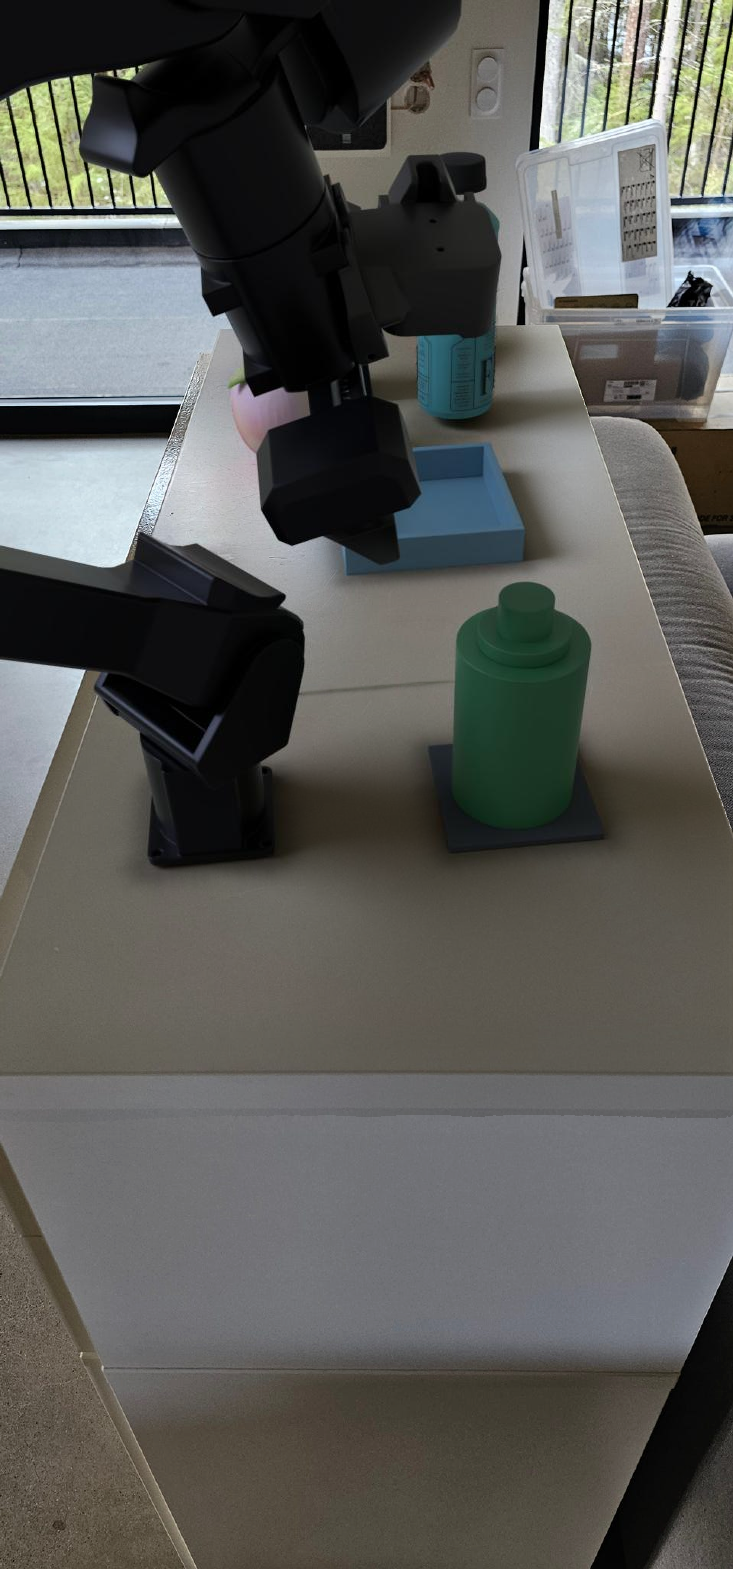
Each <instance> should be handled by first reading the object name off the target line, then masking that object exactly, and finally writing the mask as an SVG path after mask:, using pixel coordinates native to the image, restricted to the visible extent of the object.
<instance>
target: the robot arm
mask: <svg viewBox="0 0 733 1569" xmlns="http://www.w3.org/2000/svg"><path fill="white" fill-rule="evenodd" d="M462 6H463V0H0V102H2V101H4V100H6V99H7V98H10V97H11V96H13V95H15V94H17V93H19V92H20V91H23V90H24V89H25V90H26V89H27V88H31V87H35V86H37V85H38V86H39V85H41V84H46V83H48V82H52V81H56V80H60V79H66V78H67V79H68V78H74V77H79V76H80V77H81V76H87V75H94V76H93V77H92V80H91V92H92V93H91V103H90V107H89V110H88V114H87V116H86V117H85V120H84V122H83V126H82V131H81V135H80V136H81V137H80V141H79V144H78V153H79V156H80V158H81V160H83V162H85V163H86V164H90V165H93V166H97V167H101V168H103V169H107V170H110V171H114V172H118V173H121V174H125V175H128V176H131V177H133V178H134V177H135V178H138V179H146V178H147V177H149V176H150V175H151V174H152V173H153V172H154V175H155V177H156V179H157V180H158V183H159V185H160V186H161V189H162V190H163V192H164V195H165V197H166V198H167V200H168V202H169V205H170V207H171V209H172V211H173V212H174V214H175V216H176V219H177V220H178V222H179V225H180V226H181V228H182V231H183V232H184V235H185V236H186V238H187V240H188V243H189V245H190V246H191V249H192V251H193V253H194V255H195V257H196V259H197V261H198V262H199V263H198V264H200V284H201V297H202V299H203V301H204V303H205V305H206V307H207V309H208V310H209V312H210V315H211V316H212V318H214V317H217V316H220V315H223V314H225V316H226V319H227V320H228V322H229V324H230V326H231V328H232V330H233V332H234V335H235V336H236V338H237V340H238V342H239V345H240V347H241V348H242V360H243V364H244V376H245V380H246V382H247V384H248V386H249V388H250V390H251V392H252V394H253V396H254V397H257V396H260V395H262V394H265V393H268V392H271V391H273V390H276V389H279V388H282V387H283V389H284V391H285V392H287V393H298V392H305V391H307V392H308V401H309V409H310V415H309V416H306V417H303V418H300V419H297V420H294V421H292V422H289V423H286V424H283V425H280V426H277V427H275V428H272V429H269V430H268V431H267V433H266V435H265V437H264V439H263V441H262V443H261V445H260V447H259V449H258V451H257V453H256V454H255V455H256V468H257V479H258V481H257V482H258V491H259V504H260V511H261V513H262V515H263V517H264V519H265V520H266V522H267V523H268V525H269V527H270V530H272V532H273V534H274V536H275V538H276V540H277V541H279V542H281V543H283V544H286V545H288V546H291V547H294V546H297V545H301V544H303V543H306V542H309V541H312V540H315V539H319V538H321V537H323V538H326V539H328V540H329V541H332V542H333V543H336V544H338V545H340V546H341V545H342V546H344V547H346V548H348V549H349V550H351V551H353V552H355V553H357V554H359V555H361V556H363V557H365V558H367V559H369V560H370V561H372V562H374V563H376V564H378V565H385V564H388V563H391V562H395V561H397V560H399V559H400V558H401V555H400V549H399V542H398V535H397V529H396V522H395V516H394V513H396V512H399V511H402V510H405V509H408V508H410V507H411V506H412V505H413V504H414V502H415V501H416V500H417V499H418V497H419V496H420V495H421V494H422V493H421V488H420V483H419V478H418V473H417V468H416V462H415V457H414V452H413V448H414V447H413V445H412V442H411V438H410V435H409V430H408V428H407V424H406V422H405V419H404V416H403V414H402V411H401V408H400V405H399V404H398V403H397V402H393V401H390V400H387V399H384V398H381V397H378V396H376V395H374V390H373V384H372V379H371V372H370V366H369V364H373V363H375V362H378V361H381V360H384V359H387V358H389V357H390V353H389V347H388V343H387V340H386V336H385V333H386V334H389V335H391V336H393V337H399V338H400V337H401V338H410V337H411V338H412V337H416V336H417V337H418V336H436V335H459V336H460V337H461V338H464V339H466V338H478V337H481V336H483V335H485V334H487V333H488V332H489V331H490V330H491V328H492V324H493V316H494V309H495V302H497V300H496V295H497V296H498V292H497V290H498V288H499V287H498V286H499V281H500V274H501V272H500V271H501V265H502V259H503V258H502V257H503V256H502V255H503V254H502V251H501V247H500V244H499V240H498V241H497V237H496V234H495V231H494V227H493V224H492V221H491V217H490V214H489V212H488V211H487V209H486V208H484V207H483V206H481V205H479V204H477V203H476V201H477V200H476V196H475V193H473V192H465V193H464V195H463V199H462V200H463V201H460V200H461V199H459V197H458V195H456V193H455V189H454V186H453V184H452V181H451V179H450V176H449V174H448V171H447V169H446V167H445V164H444V162H443V159H442V157H441V156H440V155H441V154H437V153H434V154H432V153H431V154H409V155H407V156H406V158H405V160H404V162H403V163H402V166H401V168H400V169H399V171H398V173H397V175H396V177H395V179H394V180H393V181H392V184H391V186H390V188H389V190H388V192H387V194H378V196H377V206H376V207H375V208H374V207H373V208H367V209H362V207H361V206H360V205H358V204H355V203H353V202H351V201H348V200H347V198H346V196H345V193H344V189H343V188H342V184H341V182H339V181H337V182H335V183H333V181H332V179H331V176H330V173H327V174H323V171H322V169H321V166H320V164H319V161H318V157H317V155H316V152H315V149H314V147H313V144H312V142H311V139H310V136H309V133H308V131H307V128H306V127H308V128H309V127H311V128H315V127H318V128H319V129H321V130H324V131H326V132H328V133H330V134H334V135H347V134H351V133H353V132H355V131H356V130H358V129H359V128H360V127H361V126H362V125H363V124H365V122H366V121H367V120H369V119H370V117H371V116H373V114H375V113H376V112H377V111H378V110H379V109H380V108H381V107H382V106H383V105H384V104H385V103H386V102H387V101H388V100H389V99H390V98H391V97H392V96H393V95H394V94H395V93H396V92H398V90H400V88H402V87H403V86H404V85H405V84H406V83H407V82H408V81H409V80H410V79H411V78H412V77H413V76H414V75H415V74H416V73H417V72H418V71H419V70H420V69H421V68H422V67H423V66H425V64H426V63H428V61H429V60H431V59H432V57H434V56H435V55H436V54H437V53H438V52H439V51H440V50H441V49H442V48H443V47H444V46H445V45H446V44H447V43H448V42H449V41H450V40H451V38H453V36H454V35H455V33H456V31H457V30H458V27H459V23H460V20H461V17H462ZM141 66H142V68H141V69H140V70H139V71H138V72H137V73H135V75H134V76H132V77H131V79H127V78H122V77H119V76H114V75H108V74H105V73H107V72H114V71H121V70H127V69H128V70H129V69H133V68H137V67H138V68H139V67H141ZM143 66H144V67H143ZM103 73H104V74H103ZM384 332H385V333H384ZM286 599H287V595H286V593H284V592H282V591H280V590H279V589H277V588H276V587H274V586H272V585H270V584H268V583H267V582H265V581H263V580H261V579H259V578H258V577H256V576H254V575H252V574H251V573H249V572H248V571H246V570H245V569H242V568H241V567H239V566H237V565H235V564H233V563H232V562H230V561H228V560H227V559H225V558H223V557H222V556H220V555H218V554H216V553H214V552H213V551H212V550H210V549H207V548H206V547H204V546H202V545H201V544H199V543H197V542H195V543H191V544H186V545H174V544H169V543H166V542H164V541H163V540H159V539H158V538H157V537H154V536H152V535H150V534H148V533H146V532H145V531H142V530H141V531H139V532H138V534H137V539H136V543H135V550H134V554H133V559H130V560H128V561H125V562H122V563H121V564H117V565H115V566H110V567H109V566H108V567H107V566H106V567H105V566H97V565H92V564H88V563H84V562H79V561H74V560H70V559H66V558H60V557H57V556H52V555H48V554H47V555H46V554H42V553H38V552H33V551H29V550H24V549H19V548H15V547H10V546H7V545H6V546H5V545H1V544H0V661H1V660H2V661H8V662H17V663H24V664H25V663H26V664H31V665H41V666H50V667H57V668H66V669H73V670H81V671H90V672H97V673H99V675H98V677H97V679H96V680H95V683H94V685H93V692H94V693H95V695H96V696H97V697H98V698H99V700H100V701H101V702H102V703H103V704H104V706H105V707H106V708H107V710H108V711H109V712H110V713H112V714H113V715H114V716H116V717H120V719H122V720H124V721H125V722H126V723H127V724H129V725H130V726H132V727H133V728H134V729H136V730H137V731H138V732H139V742H140V747H141V751H142V756H143V760H144V765H145V770H146V773H147V778H148V783H149V788H150V792H151V798H150V799H151V800H150V815H149V828H148V843H147V859H148V862H149V864H150V865H152V866H154V867H162V866H171V865H172V866H173V865H174V866H175V865H184V864H195V863H196V864H197V863H207V862H208V863H209V862H217V861H227V860H228V861H230V860H240V859H251V858H261V857H270V856H272V855H274V854H275V853H276V851H277V831H276V813H275V811H276V810H275V792H274V791H275V790H274V773H273V769H272V768H271V767H270V766H267V765H262V762H263V761H265V760H267V759H268V758H270V757H271V756H273V755H274V754H276V753H278V752H279V751H281V750H282V749H284V748H286V747H287V746H288V744H289V743H290V737H291V732H292V728H293V723H294V718H295V713H296V709H297V704H298V700H299V695H300V690H301V686H302V681H303V676H304V672H305V664H306V661H305V654H306V653H305V649H306V648H305V647H306V636H305V632H304V628H305V623H304V621H303V620H302V618H300V616H299V615H298V614H296V613H294V612H293V611H292V610H289V609H288V608H286V607H284V606H282V604H283V603H284V602H285V601H286Z"/></svg>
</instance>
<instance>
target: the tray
mask: <svg viewBox="0 0 733 1569" xmlns="http://www.w3.org/2000/svg"><path fill="white" fill-rule="evenodd" d="M412 448H413V452H414V457H415V462H416V468H417V473H418V478H419V483H420V488H421V493H422V494H421V495H420V496H419V497H418V499H417V500H416V501H415V502H414V504H413V505H412V506H411V507H410V508H408V509H405V510H402V511H399V512H396V513H394V516H395V522H396V529H397V535H398V542H399V549H400V555H401V558H400V559H399V560H397V561H395V562H391V563H388V564H385V565H378V564H376V563H374V562H372V561H370V560H369V559H367V558H365V557H363V556H361V555H359V554H357V553H355V552H353V551H351V550H349V549H348V548H346V547H344V546H342V545H340V546H341V553H342V559H343V565H344V566H343V567H344V571H345V572H344V573H345V576H358V575H359V576H360V575H371V574H383V573H397V572H410V571H424V570H435V569H448V568H460V567H463V568H464V567H473V566H486V565H487V566H489V565H498V564H499V565H501V564H512V563H513V564H514V563H523V562H524V561H523V559H524V545H525V536H526V534H525V533H526V528H525V526H524V523H523V521H522V518H521V516H520V513H519V511H518V508H517V506H516V502H515V501H514V498H513V495H512V493H511V491H510V488H509V485H508V483H507V481H506V478H505V476H504V473H503V470H502V468H501V466H500V463H499V460H498V458H497V456H496V453H495V451H494V449H493V446H492V443H491V442H490V441H486V442H485V441H484V442H473V443H471V442H470V443H460V444H459V443H457V444H444V445H432V446H431V445H430V446H415V447H412Z"/></svg>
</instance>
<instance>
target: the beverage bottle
mask: <svg viewBox="0 0 733 1569" xmlns="http://www.w3.org/2000/svg"><path fill="white" fill-rule="evenodd" d="M439 155H440V156H441V157H442V159H443V162H444V164H445V167H446V169H447V171H448V174H449V176H450V179H451V181H452V184H453V186H454V189H455V193H456V195H457V196H464V193H465V192H473V193H474V194H478V193H481V192H484V191H485V190H487V188H488V186H487V185H488V178H487V161H486V157H485V156H483V155H482V154H480V153H476V152H470V151H452V152H445V153H441V154H439ZM459 200H460V201H463V199H459ZM476 203H477V204H479V205H481V206H483V207H484V208H486V209H487V211H488V212H489V214H490V217H491V221H492V224H493V227H494V231H495V234H496V237H497V241H498V242H499V232H500V228H501V227H500V226H501V225H500V224H501V223H500V220H499V218H498V217H497V215H496V214H495V213H494V212H493V211H492V210H491V209H490V208H489V207H488V206H487V205H486V204H485V203H483V202H481V201H477V200H476ZM499 290H500V288H497V295H496V302H495V309H494V316H493V324H492V328H491V330H490V331H489V332H488V333H487V334H485V335H483V336H481V337H478V338H466V339H464V338H461V337H460V336H459V335H436V336H415V339H417V344H416V347H415V349H416V363H415V366H416V380H415V383H417V385H416V388H415V389H416V392H417V395H416V399H417V400H418V403H419V407H420V409H421V410H422V411H423V412H425V413H426V414H428V415H429V416H432V417H435V418H440V419H447V420H463V419H464V420H465V419H469V418H470V419H471V418H475V417H477V416H480V415H483V414H485V413H486V412H488V411H489V409H490V408H491V405H492V403H493V401H494V399H495V393H494V392H495V391H496V390H495V387H496V385H495V382H496V379H495V375H496V349H497V341H498V340H497V339H498V336H497V335H498V328H497V325H498V324H499V323H498V320H499V319H498V318H499V317H498V316H499V315H498V314H497V304H498V303H497V302H498V299H499V298H498V296H499V294H500V293H499V292H498V291H499Z"/></svg>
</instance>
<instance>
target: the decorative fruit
mask: <svg viewBox="0 0 733 1569" xmlns="http://www.w3.org/2000/svg"><path fill="white" fill-rule="evenodd" d="M227 389H228V390H229V389H231V392H230V407H231V413H232V417H233V421H234V424H235V427H236V429H237V431H238V434H239V436H240V437H241V439H242V441H243V443H244V444H245V445H246V446H247V447H248V449H249V450H250V451H251V452H253V453H254V454H255V455H256V453H257V451H258V449H259V447H260V445H261V443H262V441H263V439H264V437H265V435H266V433H267V431H268V430H269V429H272V428H275V427H277V426H280V425H283V424H286V423H289V422H292V421H294V420H297V419H300V418H303V417H306V416H309V415H310V409H309V401H308V392H307V391H305V392H298V393H287V392H285V391H284V389H283V387H282V388H279V389H276V390H273V391H271V392H268V393H265V394H262V395H260V396H257V397H254V396H253V394H252V392H251V390H250V388H249V386H248V384H247V382H246V380H245V376H244V363H243V364H242V365H240V367H239V368H238V369H237V370H236V371H235V373H233V375H232V377H231V379H230V380H229V383H228V386H227Z"/></svg>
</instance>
